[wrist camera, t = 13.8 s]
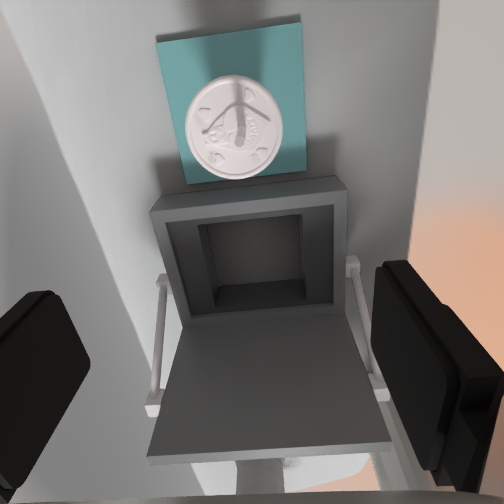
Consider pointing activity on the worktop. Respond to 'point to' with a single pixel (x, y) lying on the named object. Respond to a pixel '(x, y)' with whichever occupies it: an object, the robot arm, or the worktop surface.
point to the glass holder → (260, 476)
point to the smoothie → (234, 127)
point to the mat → (242, 64)
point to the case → (262, 337)
